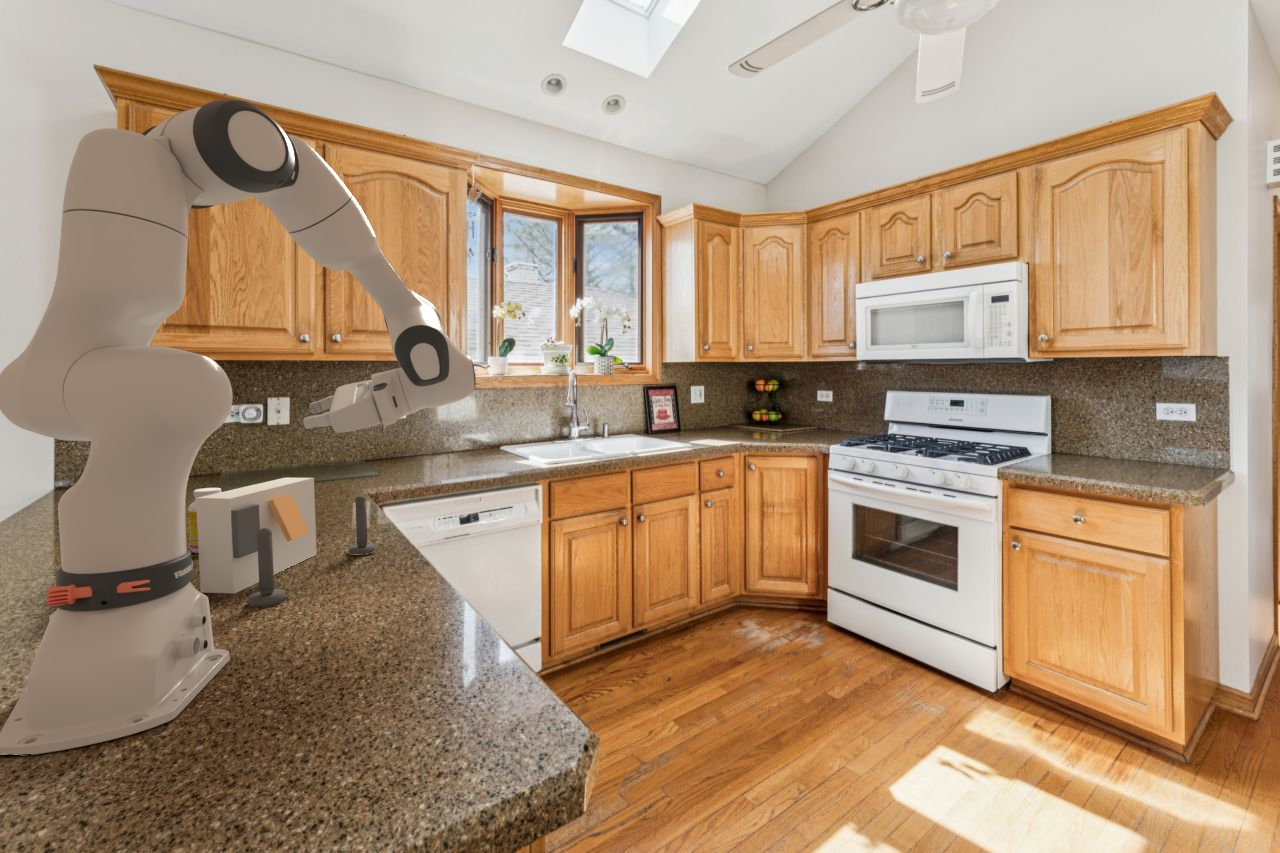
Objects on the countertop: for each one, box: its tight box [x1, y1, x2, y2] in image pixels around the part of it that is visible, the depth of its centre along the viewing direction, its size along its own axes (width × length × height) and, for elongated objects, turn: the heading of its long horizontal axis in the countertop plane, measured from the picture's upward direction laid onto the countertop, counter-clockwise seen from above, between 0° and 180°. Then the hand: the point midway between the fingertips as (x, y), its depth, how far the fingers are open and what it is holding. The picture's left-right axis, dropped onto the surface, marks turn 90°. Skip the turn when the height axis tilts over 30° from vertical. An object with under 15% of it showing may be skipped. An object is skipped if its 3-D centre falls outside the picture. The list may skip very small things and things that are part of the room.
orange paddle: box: [268, 495, 310, 542], centre depth 108 cm, size 1×5×8 cm, turn 174°
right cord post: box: [348, 494, 376, 554], centre depth 122 cm, size 5×5×12 cm
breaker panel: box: [196, 477, 317, 594], centre depth 108 cm, size 6×22×16 cm, turn 176°
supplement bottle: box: [187, 487, 222, 554], centre depth 123 cm, size 7×7×13 cm
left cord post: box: [247, 528, 287, 609], centre depth 94 cm, size 5×5×12 cm
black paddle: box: [231, 505, 260, 558], centre depth 100 cm, size 1×5×8 cm, turn 176°
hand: (307, 415), depth 105 cm, fingers open, 8 cm apart
